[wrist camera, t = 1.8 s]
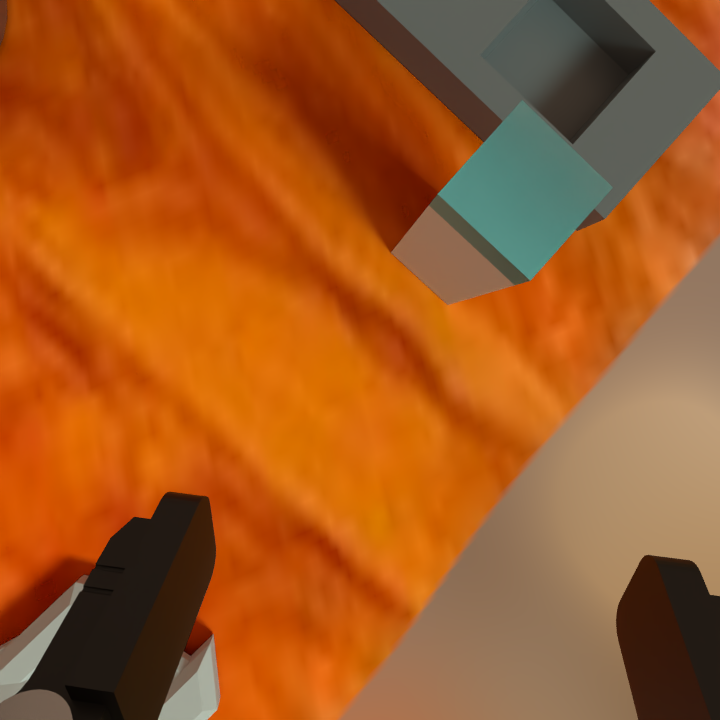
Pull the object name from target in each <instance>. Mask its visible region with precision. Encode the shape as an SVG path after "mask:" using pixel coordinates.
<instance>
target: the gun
mask: <svg viewBox="0 0 720 720" xmlns="http://www.w3.org/2000/svg"><path fill="white" fill-rule="evenodd" d="M87 578H88V575H83V576H82V577H80V578H79V579H78V580H77V581H76V582H75V583H74V584H73V585H72V586H71V587H70V588H69V589H68V590H67V591H66V592H65V593H63V594H62V595H61V596H60V597H59V598H58V599H57V600H56V601H55V602H54V603H53V604H52V605H51V606H50V607H49V608H48V609H47V610H46V611H44V612H43V613H42V614H41V615H40V616H39V617H38V618H37V619H36V620H35V621H34V622H33V623H32V624H31V625H30V626H29V627H28V628H26V629H25V630H24V631H23V632H22V633H21V634H20V635H19V636H17V637H15V638H14V639H12V640H10V641H8V642H6V643H5V644H3V645H1V646H0V703H1V702H2V701H4V700H6V699H8V698H10V697H11V696H13V695H15V694H16V693H17V692H18V691H19V690H20V689H21V688H22V687H23V686H24V685H25V683H26V682H27V681H28V680H29V678H30V677H31V675H32V674H33V672H34V670H35V669H36V667H37V665H38V663H39V662H40V660H41V658H42V656H43V655H44V653H45V651H46V650H47V648H48V646H49V644H50V643H51V641H52V639H53V637H54V636H55V634H56V632H57V630H58V629H59V627H60V625H61V623H62V622H63V620H64V618H65V616H66V615H67V613H68V611H69V610H70V608H71V606H72V604H73V603H74V601H75V599H76V597H77V596H78V594H79V592H80V591H82V590H83V585H84V583H85V582H86V580H87ZM219 700H220V690H219V681H218V671H217V662H216V653H215V644H214V634H213V635H212V636H211V637H210V638H209V639H208V640H207V641H206V642H205V643H203V644H202V645H201V646H200V647H199V648H198V649H197V650H196V651H195V652H194V653H193V654H192V655H191V656H190V655H188V654H187V653H185V652H183V654H182V657H181V660H180V662H179V665H178V668H177V670H176V673H175V676H174V678H173V681H172V684H171V686H170V689H169V692H168V694H167V697H166V700H165V702H164V705H163V707H162V710H161V713H160V715H159V718H158V720H207V719H208V718H209V717H210V716H211V715H212V714H213V713H214V712H215V711H216V710H217V708H218V704H219Z"/></svg>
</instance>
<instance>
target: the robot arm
mask: <svg viewBox="0 0 720 720" xmlns="http://www.w3.org/2000/svg"><path fill="white" fill-rule="evenodd" d="M6 22H7V0H0V45H1V42H2V40H3V37H4V32H5V27H6ZM215 557H216V544H215V536H214V529H213V522H212V515H211V507H210V501H209V498H208V497H206V496H199V495H191V494H183V493H176V492H167V493H166V494H165V495H164V496H163V497H162V499H161V501H160V503H159V505H158V506H157V508H156V510H155V512H154V514H153V516H152V518H151V519H146V518H139V517H134V518H133V519H131V520H130V521H129V522H128V523H127V524H126V525H125V526H124V527H122V528H121V529H120V530H119V531H118V532H117V533H116V534H115V535H113V536H112V537H111V538H110V540H109V542H108V543H107V545H106V547H105V549H104V550H103V552H102V554H101V556H100V557H99V559H98V561H97V563H96V567H95V569H93V570H92V571H91V573H90V575H89V576H88V578H87V580H86V582H85V583H84V585H83V590H82V591H80V592H79V594H78V596H77V597H76V599H75V601H74V603H73V604H72V606H71V608H70V610H69V611H68V613H67V615H66V616H65V618H64V620H63V622H62V623H61V625H60V627H59V629H58V630H57V632H56V634H55V636H54V637H53V639H52V641H51V643H50V644H49V646H48V648H47V650H46V651H45V653H44V655H43V656H42V658H41V660H40V662H39V663H38V665H37V667H36V669H35V670H34V672H33V674H32V675H31V677H30V678H29V680H28V681H27V682H26V683H25V685H24V686H23V687H22V688H21V689H20V690H19V691H18V692H17V693H16V694H15V695H13V696H11V697H10V698H8V699H6V700H4V701H2V702H1V703H0V720H158V718H159V715H160V713H161V710H162V707H163V705H164V702H165V700H166V697H167V694H168V692H169V689H170V686H171V684H172V681H173V678H174V676H175V673H176V670H177V668H178V665H179V662H180V660H181V657H182V654H183V652H184V649H185V646H186V644H187V641H188V638H189V636H190V633H191V630H192V628H193V625H194V623H195V620H196V617H197V615H198V612H199V609H200V607H201V604H202V601H203V599H204V596H205V593H206V591H207V588H208V585H209V583H210V580H211V577H212V573H213V569H214V564H215ZM616 627H617V636H618V641H619V645H620V648H621V653H622V656H623V660H624V664H625V668H626V672H627V676H628V680H629V684H630V688H631V692H632V696H633V700H634V704H635V708H636V712H637V716H638V720H720V596H714V595H710V594H709V592H708V590H707V587H706V585H705V582H704V580H703V577H702V575H701V573H700V571H699V568H698V567H697V565H696V564H695V563H694V562H692V561H690V560H683V559H675V558H667V557H659V556H652V555H646V556H644V557H643V558H642V560H641V561H640V563H639V565H638V567H637V569H636V571H635V573H634V575H633V577H632V579H631V581H630V583H629V584H628V586H627V588H626V590H625V592H624V594H623V596H622V598H621V600H620V602H619V605H618V609H617V618H616Z"/></svg>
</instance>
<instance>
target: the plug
mask: <svg viewBox="0 0 720 720" xmlns="http://www.w3.org/2000/svg"><path fill="white" fill-rule="evenodd" d="M612 188H613V187H612V186H611V185H610V184H609V183H608V182H607V181H606V180H605V179H604V178H603V177H602V176H601V175H600V174H598V173H597V172H596V171H595V170H594V169H593V168H592V167H591V166H590V165H589V164H588V163H587V162H586V161H585V160H584V159H583V158H582V157H581V156H580V155H579V154H578V153H577V152H576V151H575V150H574V149H573V148H572V147H570V146H569V145H568V144H567V143H566V142H565V141H564V140H563V139H562V138H561V137H560V136H559V135H558V134H557V133H556V132H555V131H554V130H553V129H552V128H551V127H550V126H549V125H548V124H547V123H546V122H545V121H544V120H542V119H541V118H540V117H539V116H538V115H537V114H536V113H535V112H534V111H533V110H532V109H531V108H530V107H529V106H528V105H527V104H526V103H525V102H524V101H523V100H522V101H521V102H520V103H519V104H518V105H517V106H516V107H515V109H514V110H513V111H512V112H511V113H510V114H509V115H508V116H507V117H506V119H505V120H504V121H503V122H502V123H501V124H500V125H499V126H498V127H497V129H496V130H495V131H494V132H493V133H492V134H491V135H490V136H489V138H488V139H487V140H486V141H485V142H484V143H483V144H482V145H481V146H480V148H479V149H478V150H477V151H476V152H475V153H474V154H473V155H472V156H471V158H470V159H469V160H468V161H467V162H466V163H465V164H464V165H463V166H462V168H461V169H460V170H459V171H458V172H457V173H456V174H455V175H454V176H453V178H452V179H451V180H450V181H449V182H448V183H447V184H446V185H445V187H444V188H443V189H442V190H441V191H440V192H439V193H438V194H437V196H436V197H435V198H434V199H433V201H432V202H431V203H430V204H429V206H428V207H427V208H426V209H425V211H424V212H423V213H422V214H421V216H420V217H419V218H418V219H417V221H416V222H415V223H414V224H413V226H412V227H411V228H410V229H409V231H408V232H407V233H406V234H405V236H404V237H403V238H402V239H401V241H400V242H399V243H398V244H397V246H396V247H395V248H394V249H393V251H392V252H391V253H392V254H393V255H394V256H395V257H396V258H397V259H398V260H399V261H400V262H402V263H403V264H404V265H405V266H406V267H407V268H408V269H409V270H410V271H411V272H412V273H414V274H415V275H416V276H417V277H418V278H419V279H420V280H421V281H422V282H423V283H424V284H426V285H427V286H428V287H429V288H430V289H431V290H432V291H433V292H434V293H435V294H436V295H437V296H439V297H440V298H441V299H442V300H443V301H444V302H445V303H446V304H447V305H449V304H453V303H456V302H459V301H463V300H466V299H470V298H473V297H476V296H480V295H483V294H487V293H490V292H493V291H497V290H500V289H504V288H507V287H510V286H514V285H517V284H521V283H524V282H527V281H530V280H531V279H532V278H533V277H534V276H535V275H536V274H537V273H538V271H539V270H540V269H541V268H542V267H543V266H544V265H545V264H546V262H547V261H548V260H549V259H550V258H551V257H552V256H553V254H554V253H555V252H556V251H557V250H558V249H559V248H560V247H561V245H562V244H563V243H564V242H565V241H566V240H567V239H568V238H569V236H570V235H571V234H572V233H573V232H574V231H575V230H576V229H577V227H578V226H579V225H580V224H581V223H582V222H583V221H584V220H585V218H586V217H587V216H588V215H589V214H590V213H591V212H592V211H593V209H594V208H595V207H596V206H597V205H598V204H599V203H600V202H601V200H602V199H603V198H604V197H605V196H606V195H607V194H608V193H609V191H610V190H611V189H612Z"/></svg>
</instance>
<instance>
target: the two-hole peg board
mask: <svg viewBox="0 0 720 720" xmlns="http://www.w3.org/2000/svg"><path fill="white" fill-rule="evenodd" d="M335 1H336V2H337V3H338V4H339V5H340V6H341V7H343V8H344V9H345V10H346V11H347V12H348V13H349V14H350V15H351V16H352V17H353V18H354V19H355V20H356V21H357V22H358V23H359V24H360V25H361V26H363V27H364V28H365V29H366V30H367V31H368V32H369V33H370V34H371V35H372V36H373V37H374V38H375V39H376V40H377V41H378V42H379V43H380V44H381V45H382V46H384V47H385V48H386V49H387V50H388V51H389V52H390V53H391V54H392V55H393V56H394V57H395V58H396V59H397V60H398V61H399V62H400V63H401V64H402V65H404V66H405V67H406V68H407V69H408V70H409V71H410V72H411V73H412V74H413V75H414V76H415V77H416V78H417V79H418V80H419V81H420V82H421V83H422V84H423V85H425V86H426V87H427V88H428V89H429V90H430V91H431V92H432V93H433V94H434V95H435V96H436V97H437V98H438V99H439V100H440V101H441V102H442V103H443V104H445V105H446V106H447V107H448V108H449V109H450V110H451V111H452V112H453V113H454V114H455V115H456V116H457V117H458V118H459V119H460V120H461V121H462V122H463V123H464V124H466V125H467V126H468V127H469V128H470V129H471V130H472V131H473V132H474V133H475V134H476V135H477V136H478V137H479V138H480V139H481V140H482V141H483V142H485V141H486V140H487V139H488V138H489V136H490V135H491V134H492V133H493V132H494V131H495V130H496V129H497V127H498V126H499V125H500V124H501V123H502V122H503V121H504V120H505V119H506V117H507V116H508V115H509V114H510V113H511V112H512V111H513V110H514V109H515V107H516V106H517V105H518V104H519V103H520V102H521V101H522V100H523V101H524V102H525V103H526V104H527V105H528V106H529V107H530V108H531V109H532V110H533V111H534V112H535V113H536V114H537V115H538V116H539V117H540V118H541V119H542V120H544V121H545V122H546V123H547V124H548V125H549V126H550V127H551V128H552V129H553V130H554V131H555V132H556V133H557V134H558V135H559V136H560V137H561V138H562V139H563V140H564V141H565V142H566V143H567V144H568V145H569V146H570V147H572V148H573V149H574V150H575V151H576V152H577V153H578V154H579V155H580V156H581V157H582V158H583V159H584V160H585V161H586V162H587V163H588V164H589V165H590V166H591V167H592V168H593V169H594V170H595V171H596V172H597V173H598V174H600V175H601V176H602V177H603V178H604V179H605V180H606V181H607V182H608V183H609V184H610V185H611V186H612V187H613V188H612V189H611V190H610V191H609V193H608V194H607V195H606V196H605V197H604V198H603V199H602V200H601V202H600V203H599V204H598V205H597V206H596V207H595V208H594V209H593V211H592V212H591V213H590V214H589V215H588V216H587V217H586V218H585V220H584V221H583V222H582V223H581V224H580V225H579V226H578V227H577V229H576V230H577V231H578V230H580V229H583V228H585V227H587V226H590V225H592V224H594V223H596V222H599V221H601V220H603V219H605V218H606V217H607V216H608V215H609V214H610V213H611V211H612V210H613V209H614V208H615V207H616V206H617V205H618V203H619V202H620V201H621V200H622V199H623V198H624V197H625V196H626V194H627V193H628V192H629V191H630V190H631V189H632V188H633V187H634V185H635V184H636V183H637V182H638V181H639V180H640V179H641V178H642V176H643V175H644V174H645V173H646V172H647V171H648V170H649V169H650V167H651V166H652V165H653V164H654V163H655V162H656V161H657V160H658V158H659V157H660V156H661V155H662V154H663V153H664V152H665V150H666V149H667V148H668V147H669V146H670V145H671V144H672V143H673V141H674V140H675V139H676V138H677V137H678V136H679V135H680V134H681V132H682V131H683V130H684V129H685V128H686V127H687V126H688V125H689V123H690V122H691V121H692V120H693V119H694V118H695V117H696V116H697V114H698V113H699V112H700V111H701V110H702V109H703V108H704V107H705V105H706V104H707V103H708V102H709V101H710V100H711V99H712V98H713V96H714V95H715V94H716V93H717V92H718V91H719V90H720V71H719V70H718V69H717V68H716V67H715V66H714V65H713V64H712V63H711V62H710V61H709V60H708V59H707V58H706V57H705V56H704V55H703V54H702V53H701V52H700V51H699V50H698V49H697V48H696V47H695V46H694V45H693V44H692V43H691V42H690V41H689V40H688V39H687V38H686V37H685V36H684V35H683V34H682V33H681V32H680V31H679V30H678V29H677V28H676V27H675V26H674V25H673V24H672V23H671V22H670V21H669V20H668V19H667V18H666V17H665V16H664V15H663V14H662V13H661V12H660V11H659V10H658V9H657V8H656V7H655V6H654V5H653V4H652V3H651V2H650V1H649V0H335Z"/></svg>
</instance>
